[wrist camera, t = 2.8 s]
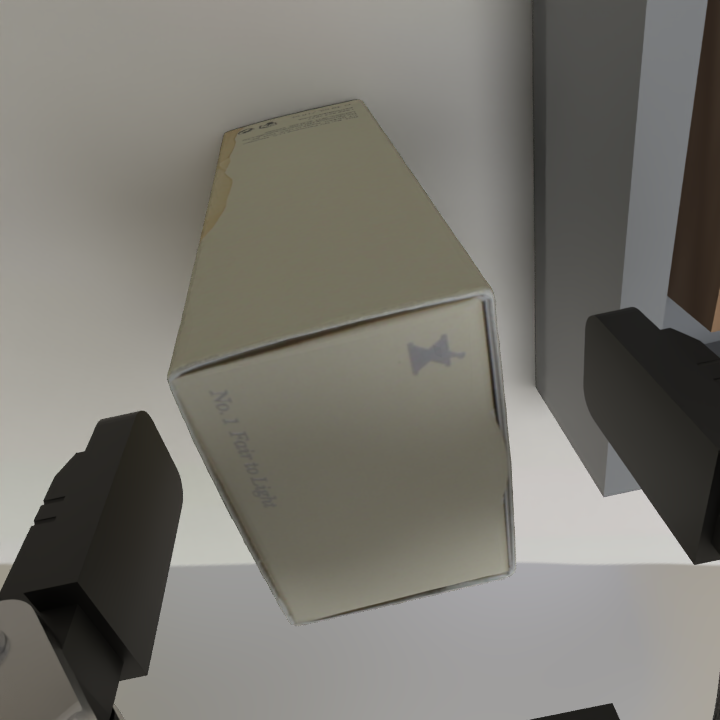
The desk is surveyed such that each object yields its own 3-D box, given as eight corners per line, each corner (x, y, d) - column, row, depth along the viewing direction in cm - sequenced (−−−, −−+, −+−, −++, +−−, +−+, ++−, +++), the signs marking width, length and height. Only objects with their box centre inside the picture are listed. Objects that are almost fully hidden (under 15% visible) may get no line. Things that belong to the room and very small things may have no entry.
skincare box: (221, 129, 17) (136, 356, 7) (369, 94, 17) (501, 271, 7) (280, 312, 21) (280, 639, 10) (403, 283, 20) (523, 585, 10)
